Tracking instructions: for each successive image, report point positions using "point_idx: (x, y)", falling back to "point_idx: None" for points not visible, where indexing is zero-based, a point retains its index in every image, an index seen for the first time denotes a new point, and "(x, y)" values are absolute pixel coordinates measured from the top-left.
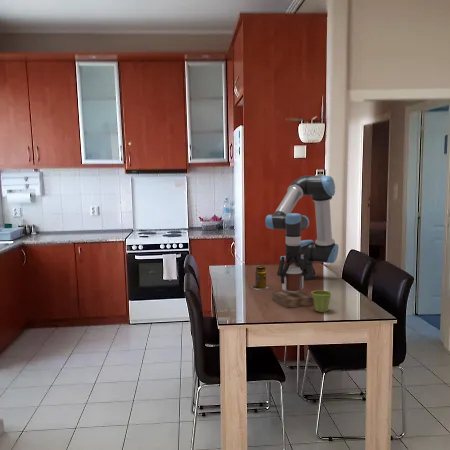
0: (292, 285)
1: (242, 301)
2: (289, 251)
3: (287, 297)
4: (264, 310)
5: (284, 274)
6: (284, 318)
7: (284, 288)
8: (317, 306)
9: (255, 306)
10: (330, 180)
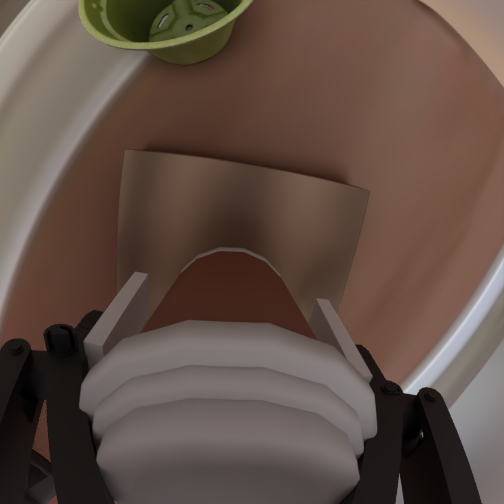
0: (280, 284)
1: (415, 381)
2: None
3: (317, 244)
4: (452, 221)
5: (388, 406)
6: (449, 64)
7: (332, 311)
8: (234, 1)
9: (437, 299)
10: None
